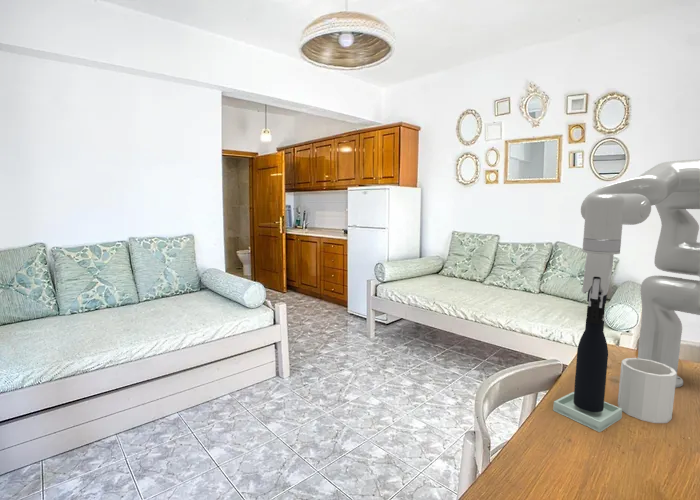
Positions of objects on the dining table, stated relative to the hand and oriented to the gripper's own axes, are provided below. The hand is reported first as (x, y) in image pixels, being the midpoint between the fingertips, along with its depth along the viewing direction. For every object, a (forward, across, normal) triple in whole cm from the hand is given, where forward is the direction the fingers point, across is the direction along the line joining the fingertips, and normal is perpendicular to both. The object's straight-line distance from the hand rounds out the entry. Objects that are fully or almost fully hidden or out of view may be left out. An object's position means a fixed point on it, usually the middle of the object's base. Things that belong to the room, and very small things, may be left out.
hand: (595, 319), depth 92 cm
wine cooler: (+25, -10, +11) cm, 29 cm away
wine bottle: (+22, 0, 0) cm, 22 cm away
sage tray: (+25, 0, 0) cm, 25 cm away
